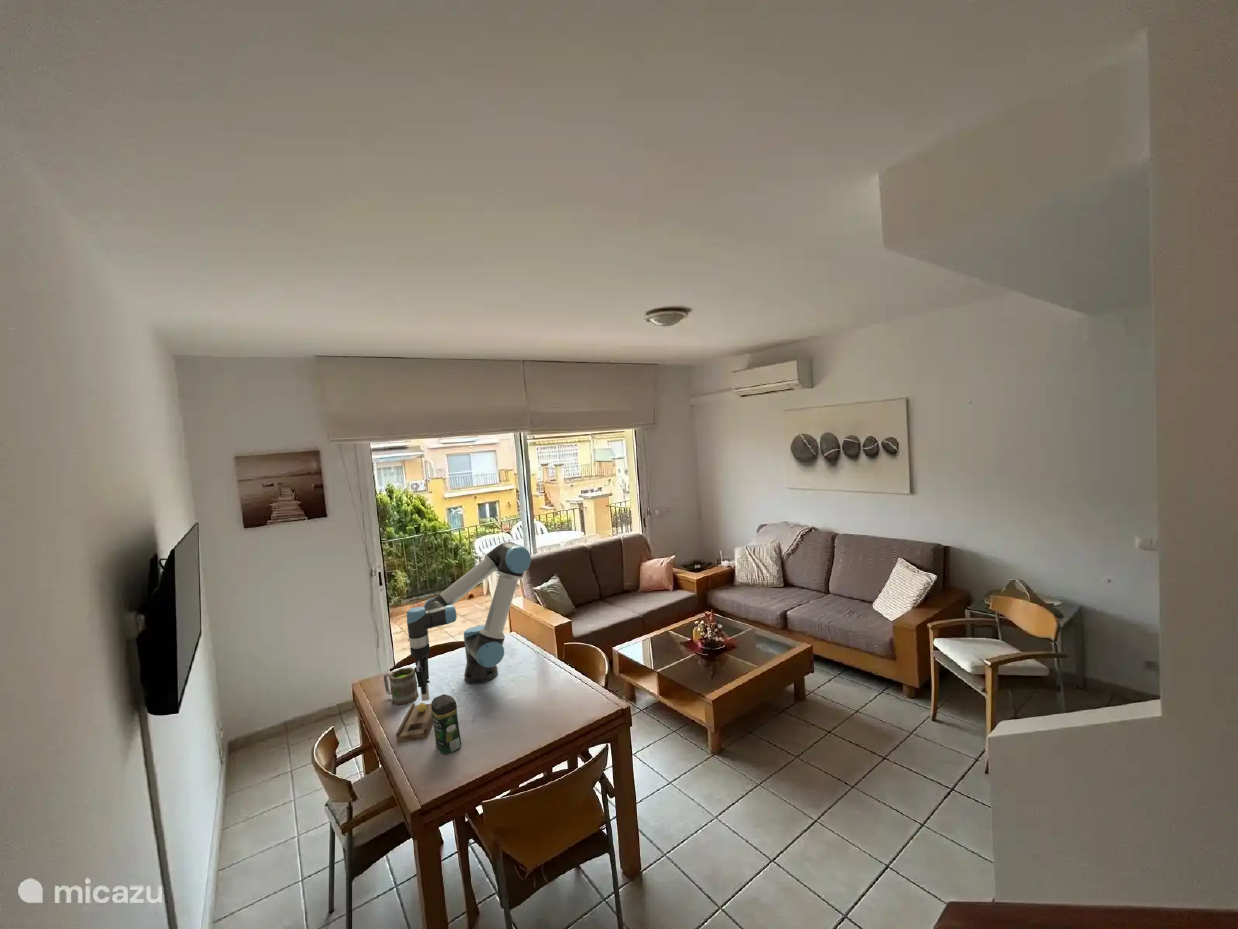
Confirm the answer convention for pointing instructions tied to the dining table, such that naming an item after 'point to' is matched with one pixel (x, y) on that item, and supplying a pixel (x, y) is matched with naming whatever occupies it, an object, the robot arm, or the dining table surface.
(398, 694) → the mug
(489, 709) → the dining table surface
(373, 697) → the dining table surface
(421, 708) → the ball
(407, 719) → the lane board
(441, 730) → the coffee jar
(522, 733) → the dining table surface
